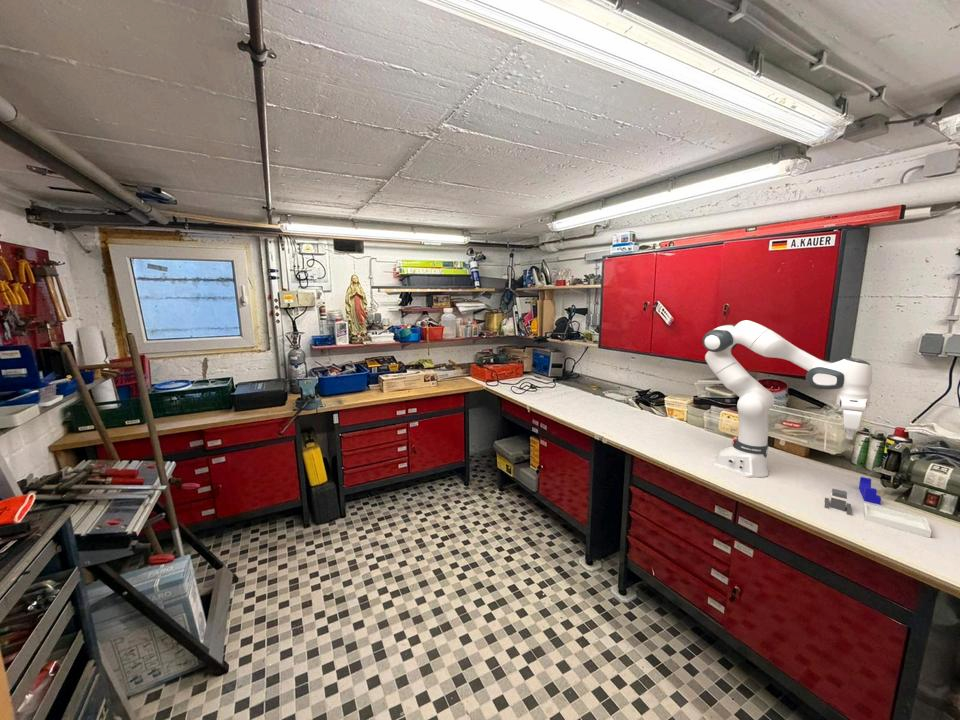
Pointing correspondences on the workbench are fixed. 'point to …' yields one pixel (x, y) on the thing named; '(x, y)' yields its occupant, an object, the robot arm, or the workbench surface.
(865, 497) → the blue stepped block
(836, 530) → the workbench surface
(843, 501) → the grey block
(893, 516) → the tray
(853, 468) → the workbench surface
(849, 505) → the holder
